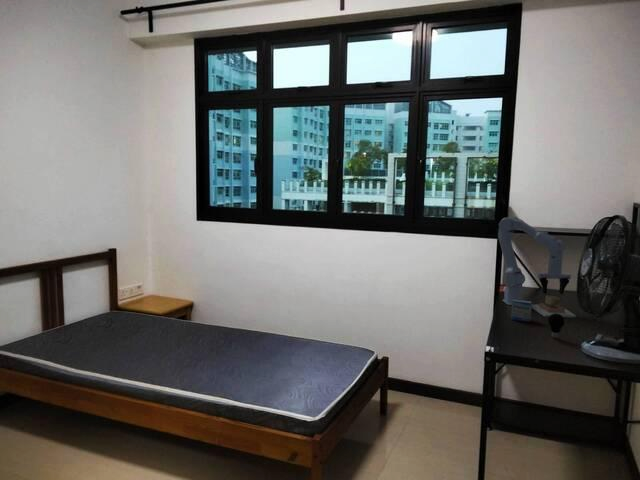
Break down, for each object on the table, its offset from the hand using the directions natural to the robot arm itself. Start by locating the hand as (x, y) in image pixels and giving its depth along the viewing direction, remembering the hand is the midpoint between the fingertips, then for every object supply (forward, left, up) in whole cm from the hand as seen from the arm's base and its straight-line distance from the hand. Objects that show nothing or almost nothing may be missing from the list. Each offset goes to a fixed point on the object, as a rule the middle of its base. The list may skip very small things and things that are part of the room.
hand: (552, 293), depth 224 cm
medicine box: (+15, -20, -9) cm, 27 cm away
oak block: (0, 0, -8) cm, 8 cm away
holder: (0, 0, -9) cm, 9 cm away
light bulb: (+40, -16, -9) cm, 44 cm away
